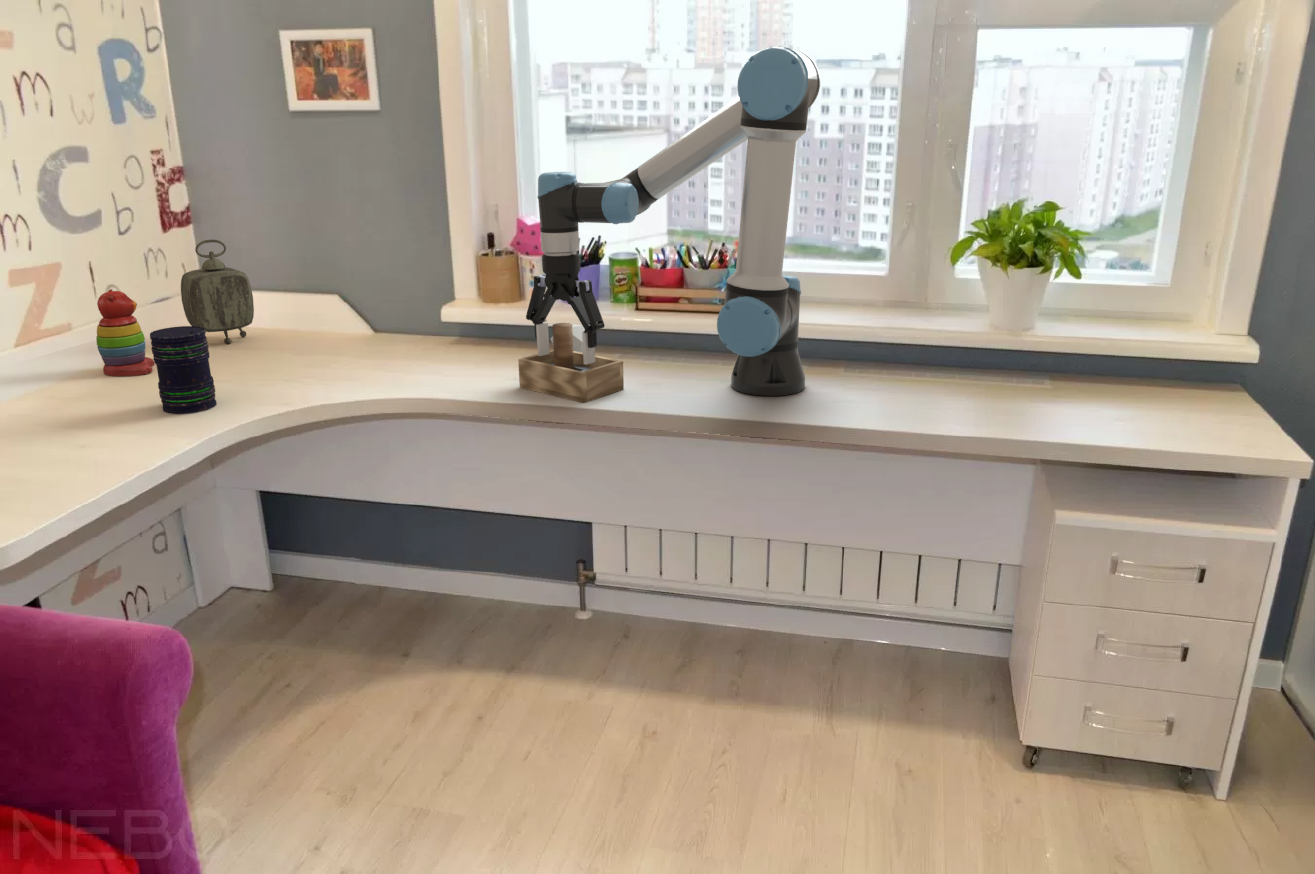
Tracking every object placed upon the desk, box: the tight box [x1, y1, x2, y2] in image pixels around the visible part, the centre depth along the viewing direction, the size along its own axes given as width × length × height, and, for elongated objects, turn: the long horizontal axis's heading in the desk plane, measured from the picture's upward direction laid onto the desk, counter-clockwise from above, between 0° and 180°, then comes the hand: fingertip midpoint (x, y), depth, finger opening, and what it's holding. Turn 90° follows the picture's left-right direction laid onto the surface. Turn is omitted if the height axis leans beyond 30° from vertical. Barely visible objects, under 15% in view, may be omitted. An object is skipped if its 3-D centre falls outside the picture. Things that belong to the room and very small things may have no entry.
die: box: [549, 323, 585, 353], centre depth 227 cm, size 8×9×10 cm
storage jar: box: [149, 325, 218, 415], centre depth 192 cm, size 10×10×15 cm
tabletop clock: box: [180, 239, 255, 345], centre depth 240 cm, size 14×9×25 cm, turn 130°
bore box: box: [517, 349, 625, 404], centre depth 204 cm, size 18×12×6 cm, turn 51°
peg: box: [552, 322, 574, 370], centre depth 204 cm, size 4×4×12 cm
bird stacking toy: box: [96, 288, 155, 377], centre depth 217 cm, size 11×10×18 cm
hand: (566, 358), depth 204 cm, fingers open, 12 cm apart
